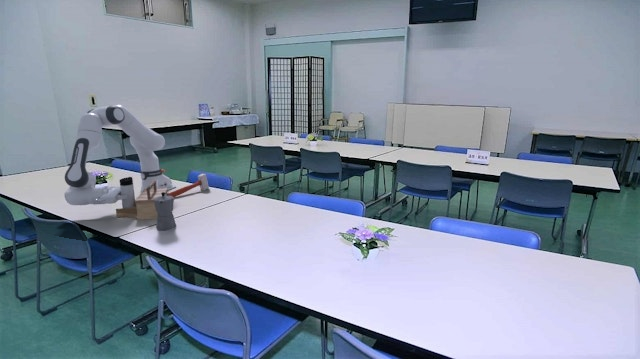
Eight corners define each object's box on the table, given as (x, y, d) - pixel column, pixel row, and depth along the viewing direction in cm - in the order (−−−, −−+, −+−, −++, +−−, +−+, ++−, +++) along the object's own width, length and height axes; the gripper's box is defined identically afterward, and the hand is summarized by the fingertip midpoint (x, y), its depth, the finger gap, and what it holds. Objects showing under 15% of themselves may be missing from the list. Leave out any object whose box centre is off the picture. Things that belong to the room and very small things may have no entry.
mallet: (168, 190, 219) (206, 173, 243) (164, 189, 221) (202, 173, 245) (172, 206, 223) (209, 188, 247) (168, 205, 225) (205, 187, 249)
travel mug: (139, 212, 197) (135, 177, 192) (129, 216, 191) (125, 180, 186) (130, 211, 199) (126, 176, 194) (120, 214, 193) (116, 179, 188)
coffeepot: (174, 231, 171) (171, 195, 167) (153, 233, 169) (149, 196, 164) (179, 220, 185) (176, 187, 181) (159, 221, 183) (156, 188, 179)
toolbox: (125, 208, 204) (122, 180, 200) (169, 205, 210) (166, 178, 206) (114, 221, 183) (110, 190, 179) (163, 218, 189) (160, 188, 185)
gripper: (93, 195, 178) (124, 193, 182) (106, 185, 198) (133, 184, 201) (95, 207, 180) (125, 205, 183) (107, 196, 199) (134, 194, 203)
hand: (129, 194), depth 192 cm, fingers open, 8 cm apart
